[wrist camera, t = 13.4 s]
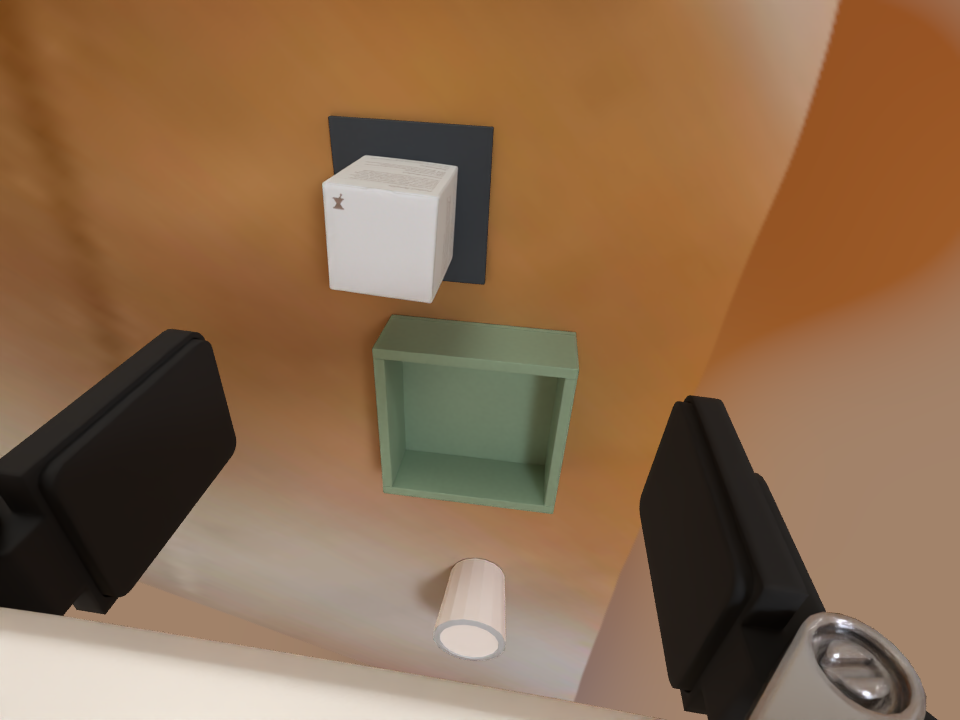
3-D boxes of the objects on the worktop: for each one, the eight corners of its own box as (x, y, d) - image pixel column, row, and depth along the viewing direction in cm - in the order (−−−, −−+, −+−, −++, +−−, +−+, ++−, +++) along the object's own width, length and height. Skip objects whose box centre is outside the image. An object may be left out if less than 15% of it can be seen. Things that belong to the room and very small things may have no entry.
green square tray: (391, 314, 38) (371, 348, 34) (576, 332, 37) (579, 369, 33) (398, 451, 45) (383, 493, 41) (552, 469, 44) (553, 514, 40)
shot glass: (522, 587, 53) (518, 655, 47) (467, 601, 56) (457, 667, 50) (490, 547, 50) (482, 614, 45) (433, 563, 53) (418, 628, 47)
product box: (365, 246, 35) (325, 290, 29) (363, 151, 31) (318, 178, 25) (454, 258, 34) (433, 306, 28) (461, 165, 31) (439, 195, 25)
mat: (330, 115, 31) (328, 116, 31) (493, 126, 30) (493, 127, 30) (345, 269, 36) (343, 272, 36) (484, 282, 36) (484, 284, 35)
